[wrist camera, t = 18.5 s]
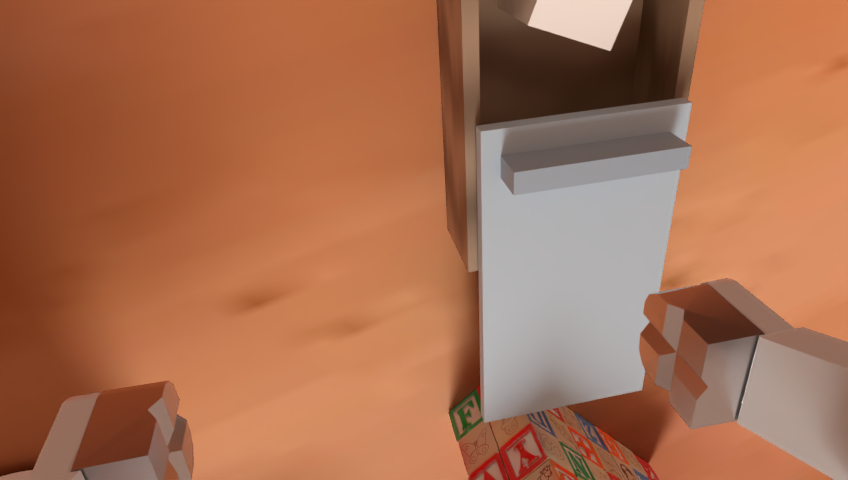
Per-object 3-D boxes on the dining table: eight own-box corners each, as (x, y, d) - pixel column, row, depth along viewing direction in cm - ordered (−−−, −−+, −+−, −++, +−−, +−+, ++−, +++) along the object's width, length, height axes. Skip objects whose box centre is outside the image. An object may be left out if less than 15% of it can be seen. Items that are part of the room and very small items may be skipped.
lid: (475, 125, 30) (493, 147, 28) (683, 97, 32) (716, 115, 29) (480, 413, 40) (493, 447, 38) (635, 381, 42) (657, 412, 40)
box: (430, -143, 28) (456, -145, 24) (668, -160, 30) (732, -165, 26) (447, 228, 39) (468, 272, 35) (623, 200, 41) (664, 238, 36)
